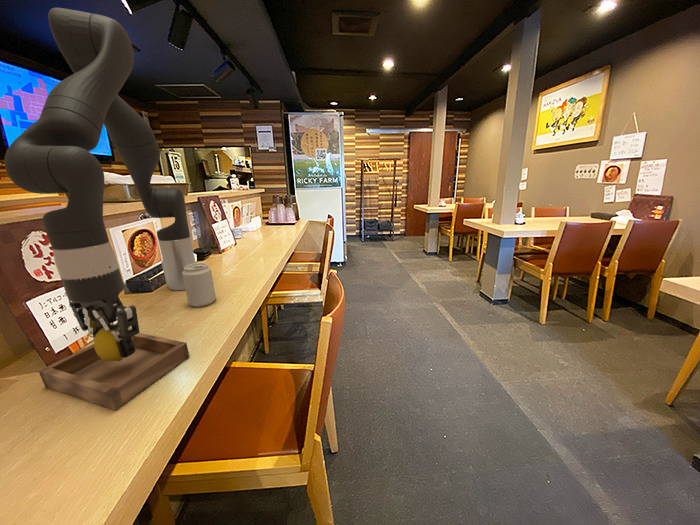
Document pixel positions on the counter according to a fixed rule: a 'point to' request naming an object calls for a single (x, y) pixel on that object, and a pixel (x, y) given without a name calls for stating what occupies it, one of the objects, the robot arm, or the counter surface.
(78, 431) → the counter surface
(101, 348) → the lemon
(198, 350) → the counter surface
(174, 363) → the tray
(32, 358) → the counter surface
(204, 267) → the can
